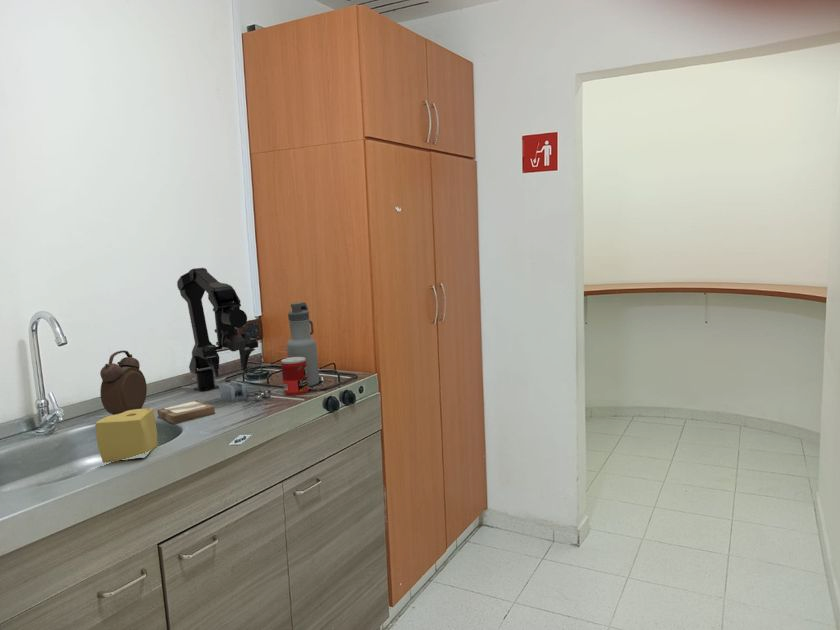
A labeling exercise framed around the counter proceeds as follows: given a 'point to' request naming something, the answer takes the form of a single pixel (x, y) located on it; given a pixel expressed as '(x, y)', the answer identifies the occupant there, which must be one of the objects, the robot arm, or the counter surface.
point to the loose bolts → (262, 395)
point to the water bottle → (303, 340)
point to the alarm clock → (122, 385)
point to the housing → (233, 391)
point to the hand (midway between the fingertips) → (230, 373)
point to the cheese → (126, 434)
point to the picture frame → (185, 412)
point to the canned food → (294, 375)
